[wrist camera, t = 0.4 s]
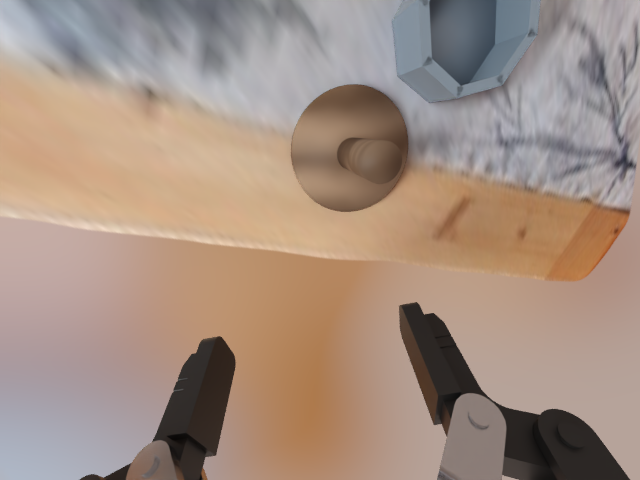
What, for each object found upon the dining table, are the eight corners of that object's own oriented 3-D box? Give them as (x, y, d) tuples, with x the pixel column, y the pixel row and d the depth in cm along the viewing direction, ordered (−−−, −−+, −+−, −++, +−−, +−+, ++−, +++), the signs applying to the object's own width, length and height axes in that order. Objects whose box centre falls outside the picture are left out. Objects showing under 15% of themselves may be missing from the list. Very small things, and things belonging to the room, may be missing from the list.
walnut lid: (274, 104, 28) (278, 93, 19) (396, 71, 28) (456, 45, 19) (308, 222, 34) (324, 256, 24) (408, 191, 34) (458, 213, 25)
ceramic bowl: (387, -25, 25) (414, -58, 20) (499, -52, 26) (549, -91, 21) (401, 110, 30) (424, 107, 25) (494, 84, 31) (533, 76, 26)
